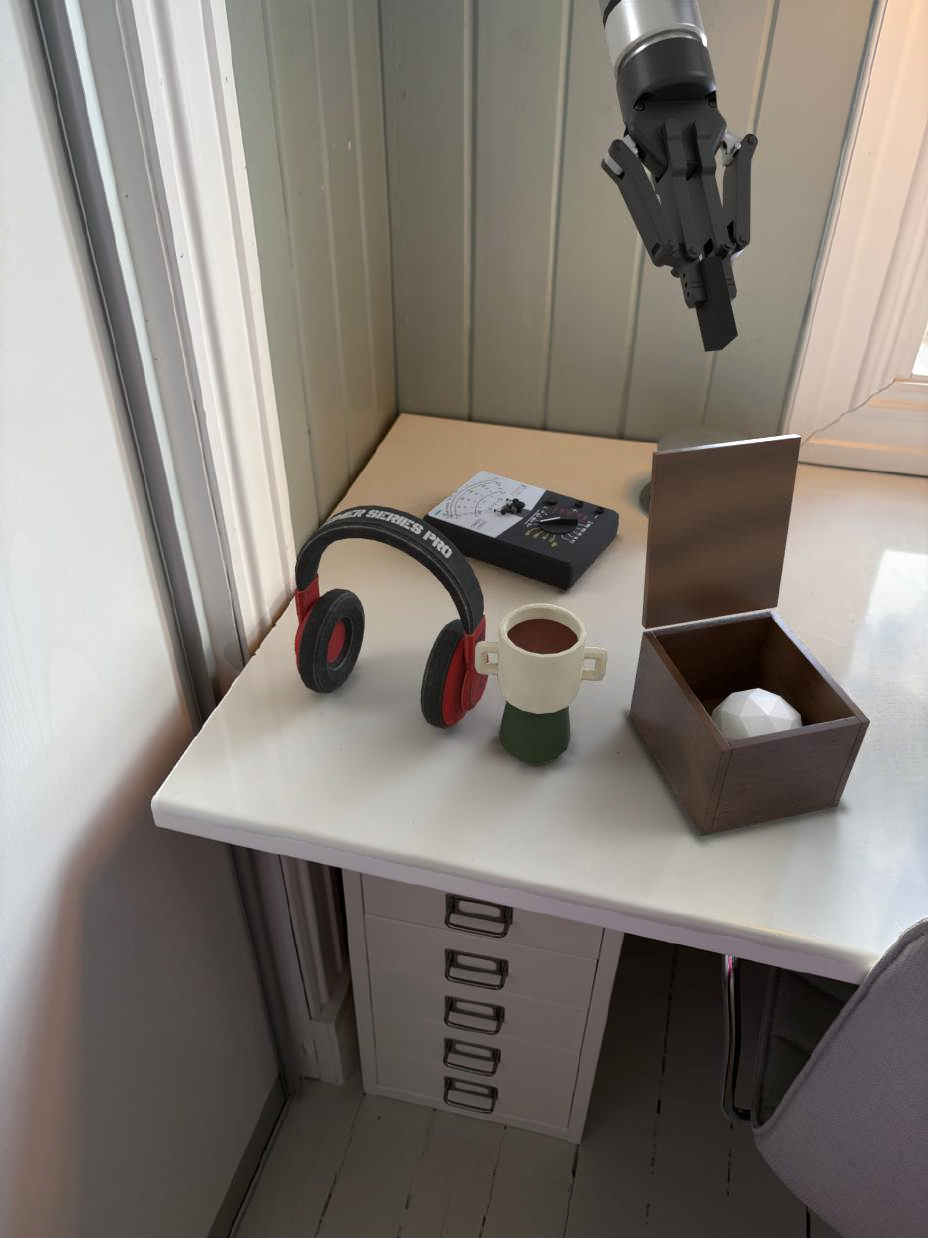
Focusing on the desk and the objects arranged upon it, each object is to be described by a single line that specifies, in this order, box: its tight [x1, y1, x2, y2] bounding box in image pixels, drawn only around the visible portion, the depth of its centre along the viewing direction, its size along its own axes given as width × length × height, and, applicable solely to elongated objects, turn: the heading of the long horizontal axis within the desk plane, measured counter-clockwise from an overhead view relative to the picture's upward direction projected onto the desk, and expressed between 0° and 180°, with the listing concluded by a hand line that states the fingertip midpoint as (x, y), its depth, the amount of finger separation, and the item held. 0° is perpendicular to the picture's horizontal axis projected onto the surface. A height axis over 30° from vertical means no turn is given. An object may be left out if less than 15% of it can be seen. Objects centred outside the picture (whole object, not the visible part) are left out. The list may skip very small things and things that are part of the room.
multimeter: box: [422, 470, 620, 590], centre depth 107 cm, size 13×19×5 cm
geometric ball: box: [711, 688, 802, 742], centre depth 77 cm, size 8×8×8 cm
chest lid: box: [641, 433, 802, 630], centre depth 77 cm, size 16×13×1 cm
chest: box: [629, 610, 871, 836], centre depth 79 cm, size 15×13×10 cm
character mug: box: [475, 602, 609, 765], centre depth 79 cm, size 11×7×13 cm, turn 86°
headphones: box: [293, 504, 490, 730], centre depth 81 cm, size 18×10×20 cm, turn 68°
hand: (721, 343), depth 72 cm, fingers closed
